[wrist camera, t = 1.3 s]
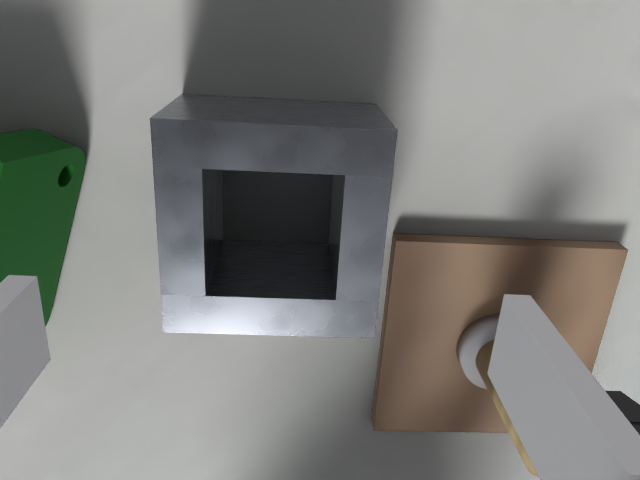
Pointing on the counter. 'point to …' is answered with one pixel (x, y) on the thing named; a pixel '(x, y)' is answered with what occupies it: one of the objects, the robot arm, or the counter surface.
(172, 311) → the ring
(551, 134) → the counter surface
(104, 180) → the counter surface
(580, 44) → the counter surface
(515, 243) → the post
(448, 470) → the counter surface
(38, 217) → the clamp
